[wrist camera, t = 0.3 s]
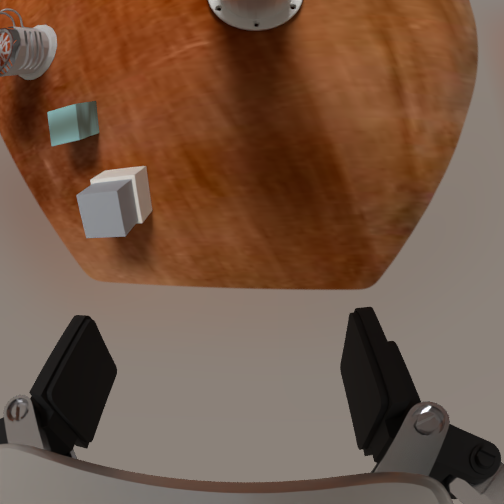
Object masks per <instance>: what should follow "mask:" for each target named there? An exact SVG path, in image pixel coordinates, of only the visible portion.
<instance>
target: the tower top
mask: <svg viewBox="0 0 504 504" xmlns="http://www.w3.org/2000/svg"><path fill="white" fill-rule="evenodd" d="M76 196H77V200H78V205H79V209H80V214H81V218H82V222H83V226H84V230H85V234H86V238H101V237H126V235H127V234H128V233H129V232H130V230H131V229H132V228H133V227H134V225H135V224H136V223H137V222H138V215H137V209H136V204H135V198H134V191H133V185H132V179H127V180H117V181H108V182H100V183H93V184H92V185H90V186H89V187H87V188H86V189H85V190H83V191H82V192H80V193H79V194H77V195H76Z"/></svg>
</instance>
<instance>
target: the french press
mask: <svg viewBox="0 0 504 504" xmlns="http://www.w3.org/2000/svg"><path fill="white" fill-rule="evenodd" d="M6 10H9V11H13V12H15V13H16V14H17V15H18V16H19V18H20V22H21V26H22V28H21V27H15V22H14V20H13V18H12V17H11V16H10V15H9V14H7V13H4V12H2V11H6ZM0 14H5V15H7V16H9V17H10V18H11V19H12V22H13V25H14V27H7V28H14V30H11V29H6V28H1V29H0V72H1V71H2V72H3V73H4V74H1V73H0V76H10V75H19V76H20V77H22V78H23V79H25V80H33V79H35V78H37V77H39V76H41V75H42V74H43V73H44V72H45V71H46V70H47V69H48V68H49V66H50V64H51V62H52V61H53V59H54V56H55V52H56V48H57V38H56V34H55V32H54V30H53V29H52V28H51V27H49V26H47V25H38V26H36V27H34V28H28V27H24V26H23V23H22V18H21V16H20V14H19V13H18V12H17V11H15V10H13V9H3V10H1V11H0ZM24 30H26V31H24ZM15 40H17V41H16V42H15V43H14V44H13V42H14V41H15ZM9 59H10V60H11V62H12V65H13V66H11V65H10V63H9ZM6 64H8V66H9V68H10V70H9V69H8V68H7V66H6ZM3 68H5V69H6V71H7V73H6V72H5V71H4V70H3Z"/></svg>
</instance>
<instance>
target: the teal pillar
mask: <svg viewBox="0 0 504 504" xmlns="http://www.w3.org/2000/svg"><path fill="white" fill-rule="evenodd" d="M47 113H48V122H49V130H50V138H51V144H52V146H55V145H59V144H63V143H68V142H72V141H77V140H81V139H84V138H86V137H89V136H92V135H95V134H98V133H99V126H98V117H97V107H96V101H92V102H85V103H79V104H74V105H70V106H67V107H63V108H60V109H56V110H53V111H50V112H47Z"/></svg>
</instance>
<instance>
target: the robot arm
mask: <svg viewBox="0 0 504 504" xmlns="http://www.w3.org/2000/svg"><path fill="white" fill-rule="evenodd" d="M302 1H303V0H208V2H209V5H210V7H211V9H212V10H213V12H214V13H215V14H216V15H217V17H218V18H220V19H221V20H222V21H224V22H225V23H227V24H229V25H231V26H233V27H236V28H239V29H242V30H248V31H262V30H269V29H272V28H275V27H278V26H280V25H282V24H284V23H286V22H287V21H288V20H290V19H291V18H292V17H293V16H294V15H295V14H296V13H297V11H298V10H299V8H300V6H301V4H302ZM291 7H294V9H291ZM219 8H220V9H221V10H220V11H217V10H218V9H219ZM255 24H258V25H259V26H258V27H255ZM340 368H341V375H342V379H343V383H344V387H345V391H346V396H347V400H348V404H349V409H350V413H351V417H352V422H353V427H354V431H355V436H356V441H357V445H358V448H359V449H360V450H361V449H363V450H364V455H365V456H368V455H373V458H374V461H375V462H377V464H376V465H375V467H374V468H373V470H372V471H371V473H364V474H356V475H348V476H339V477H331V478H322V479H313V480H299V481H284V482H256V483H255V482H254V483H242V482H240V483H239V482H237V483H236V482H211V481H197V480H185V479H176V478H167V477H160V476H153V475H146V474H140V473H135V472H129V471H124V470H119V469H114V468H110V467H105V466H101V465H97V464H93V463H89V462H85V461H81V460H78V459H77V457H76V455H75V452H74V450H73V447H74V444H75V445H76V446H80V447H83V448H88V445H89V442H92V440H93V438H94V435H95V432H96V429H97V426H98V423H99V421H100V418H101V415H102V412H103V409H104V407H105V404H106V401H107V398H108V395H109V393H110V390H111V388H112V385H113V383H114V380H115V377H116V374H117V368H116V365H115V363H114V361H113V359H112V357H111V355H110V353H109V351H108V349H107V347H106V345H105V343H104V341H103V339H102V336H101V334H100V332H99V330H98V328H97V325H96V323H95V321H94V320H92V319H91V317H89V316H82V315H76V316H74V317H73V319H72V320H71V322H70V324H69V325H68V327H67V328H66V330H65V331H64V333H63V335H62V336H61V338H60V340H59V341H58V343H57V345H56V346H55V348H54V350H53V351H52V353H51V355H50V356H49V358H48V360H47V362H46V363H45V365H44V367H43V369H42V370H41V372H40V374H39V376H38V377H37V379H36V381H35V383H34V385H33V387H32V389H31V390H30V394H31V395H32V397H31V398H29V397H27V396H25V395H18V396H15V397H13V398H12V399H10V401H8V403H7V404H6V406H5V408H4V417H3V418H1V419H0V504H453V502H452V499H459V500H460V501H461V502H462V503H463V504H504V464H503V463H502V462H501V455H500V452H499V450H498V448H497V447H496V446H495V445H494V444H493V443H491V442H489V441H486V440H484V439H482V438H480V437H477V436H475V435H473V434H471V433H468V432H466V431H464V430H462V429H459V428H457V427H455V426H453V425H451V424H449V423H450V421H449V415H448V414H447V411H446V410H445V409H444V408H443V407H442V406H441V405H439V404H437V403H434V402H430V401H427V402H421V401H420V398H419V396H418V393H417V391H416V389H415V386H414V383H413V381H412V379H411V376H410V374H409V371H408V369H407V367H406V364H405V362H404V360H403V357H402V355H401V353H400V351H399V348H398V346H397V345H396V343H395V342H394V341H387V339H386V337H385V335H384V332H383V330H382V328H381V326H380V323H379V321H378V319H377V317H376V314H375V312H374V310H373V308H372V307H364V308H356V309H355V311H354V313H350V315H349V321H348V326H347V332H346V338H345V343H344V349H343V354H342V359H341V367H340Z"/></svg>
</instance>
